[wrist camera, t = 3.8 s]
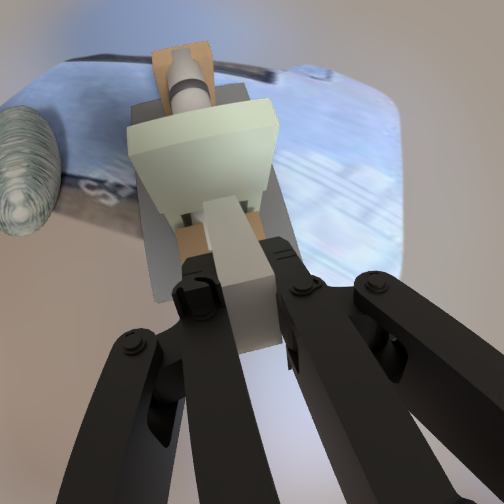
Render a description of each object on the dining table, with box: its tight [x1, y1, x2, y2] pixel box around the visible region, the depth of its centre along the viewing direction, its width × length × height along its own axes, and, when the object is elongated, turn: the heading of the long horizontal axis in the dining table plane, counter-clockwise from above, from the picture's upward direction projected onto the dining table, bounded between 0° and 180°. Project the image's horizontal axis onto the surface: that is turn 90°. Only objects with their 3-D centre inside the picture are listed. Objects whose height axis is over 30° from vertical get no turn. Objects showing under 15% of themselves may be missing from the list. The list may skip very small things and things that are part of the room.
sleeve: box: [126, 98, 280, 235], centre depth 18 cm, size 6×4×12 cm, turn 104°
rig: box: [131, 41, 302, 303], centre depth 24 cm, size 12×20×9 cm, turn 14°
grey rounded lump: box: [0, 105, 62, 236], centre depth 24 cm, size 14×10×10 cm
